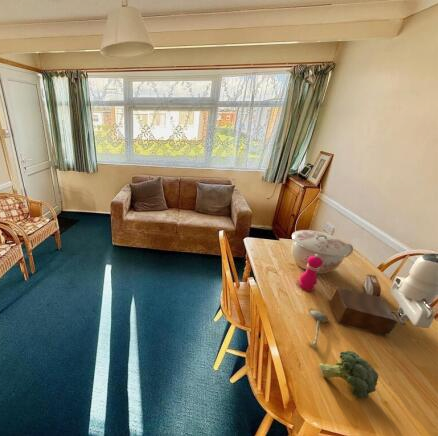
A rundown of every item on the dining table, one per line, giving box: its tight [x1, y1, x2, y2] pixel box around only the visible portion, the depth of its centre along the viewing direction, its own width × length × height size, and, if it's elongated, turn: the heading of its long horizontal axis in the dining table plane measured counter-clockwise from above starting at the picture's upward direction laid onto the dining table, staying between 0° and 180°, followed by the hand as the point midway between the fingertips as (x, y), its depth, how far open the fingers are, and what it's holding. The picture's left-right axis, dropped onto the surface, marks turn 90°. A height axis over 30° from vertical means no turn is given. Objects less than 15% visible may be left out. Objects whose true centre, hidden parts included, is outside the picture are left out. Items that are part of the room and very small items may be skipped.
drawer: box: [382, 299, 407, 335], centre depth 97 cm, size 19×12×7 cm, turn 66°
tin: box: [363, 274, 382, 297], centre depth 112 cm, size 15×3×8 cm, turn 148°
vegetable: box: [318, 350, 379, 399], centre depth 75 cm, size 12×13×15 cm
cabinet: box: [330, 286, 395, 337], centre depth 99 cm, size 16×14×9 cm
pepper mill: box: [298, 254, 323, 291], centre depth 115 cm, size 7×7×20 cm
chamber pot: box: [290, 229, 354, 274], centre depth 130 cm, size 28×28×21 cm
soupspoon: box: [310, 309, 329, 349], centre depth 95 cm, size 22×3×7 cm
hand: (401, 317), depth 93 cm, fingers closed, pressing on drawer
